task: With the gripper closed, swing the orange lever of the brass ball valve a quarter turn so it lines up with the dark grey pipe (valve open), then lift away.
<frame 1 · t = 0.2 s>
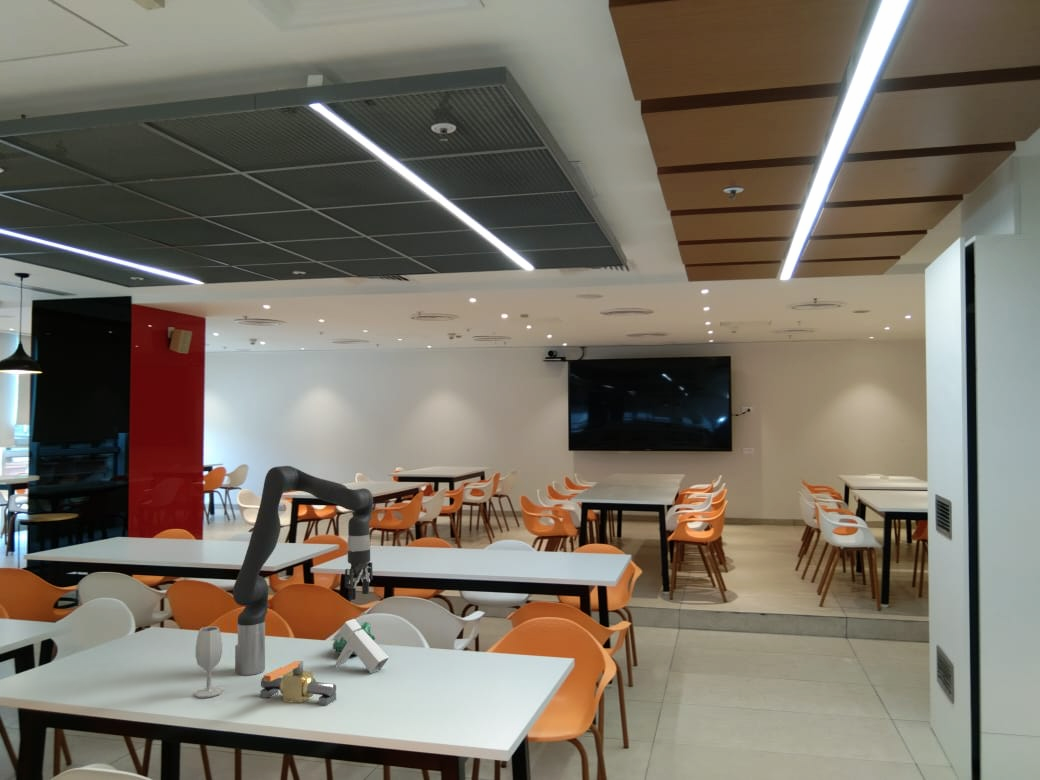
hand: (359, 596, 253), 29 cm above the table, tool pointing down, fingers open, 8 cm apart
valve: (298, 698, 238), on the table
lever: (284, 673, 233), point 10 cm above the table, hinge at 0.0°
mineral: (355, 653, 287), on the table
wineglass: (208, 694, 244), on the table
faucet: (360, 669, 267), on the table
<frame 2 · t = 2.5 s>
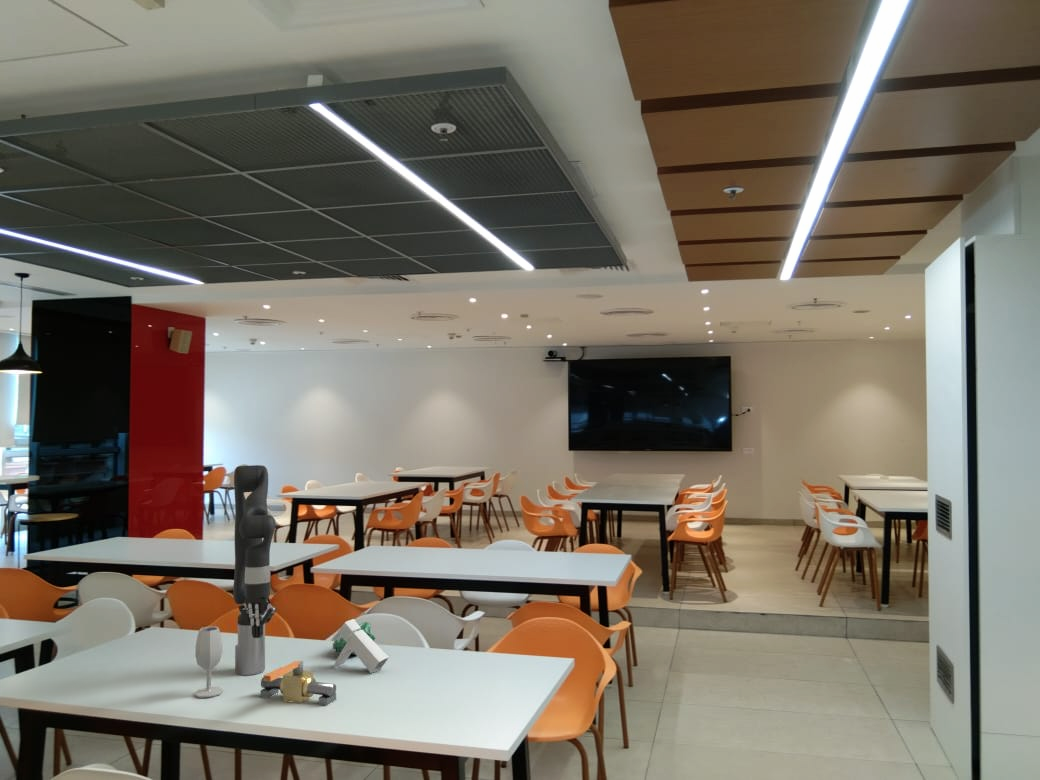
hand: (257, 637, 230), 22 cm above the table, tool pointing down, fingers closed
nothing on the table moved.
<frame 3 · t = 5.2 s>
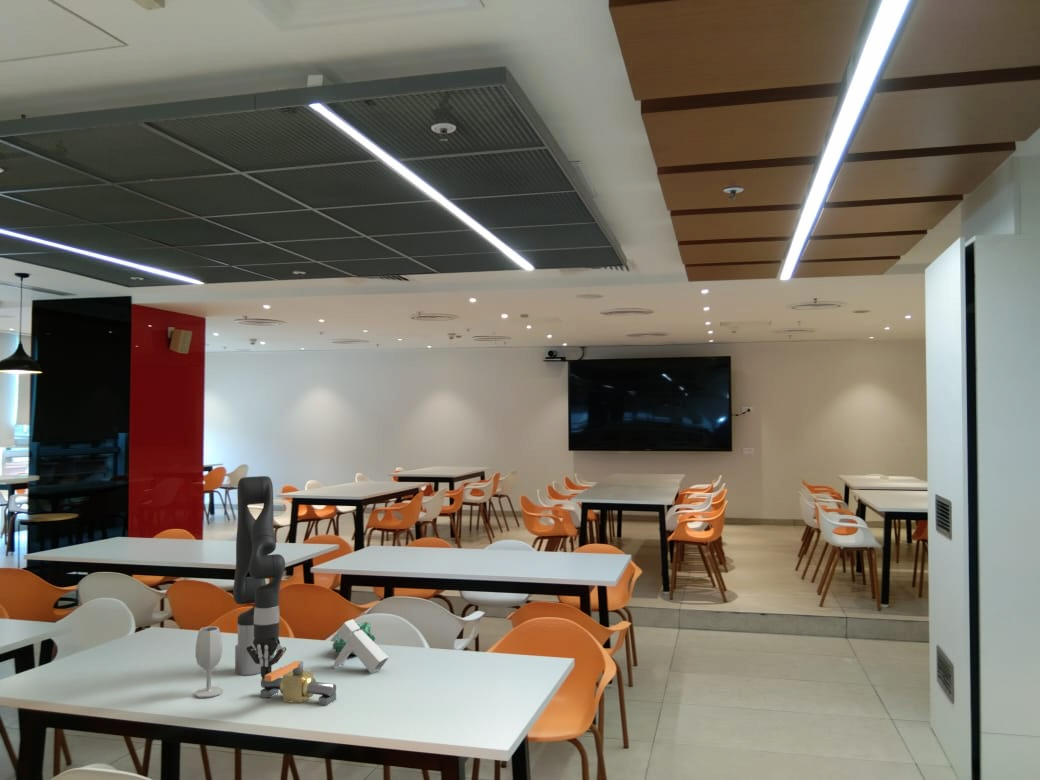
hand: (266, 678, 229), 10 cm above the table, tool pointing down, fingers closed
lever: (285, 673, 233), point 10 cm above the table, hinge at 0.9°, touching gripper
everything else where it was.
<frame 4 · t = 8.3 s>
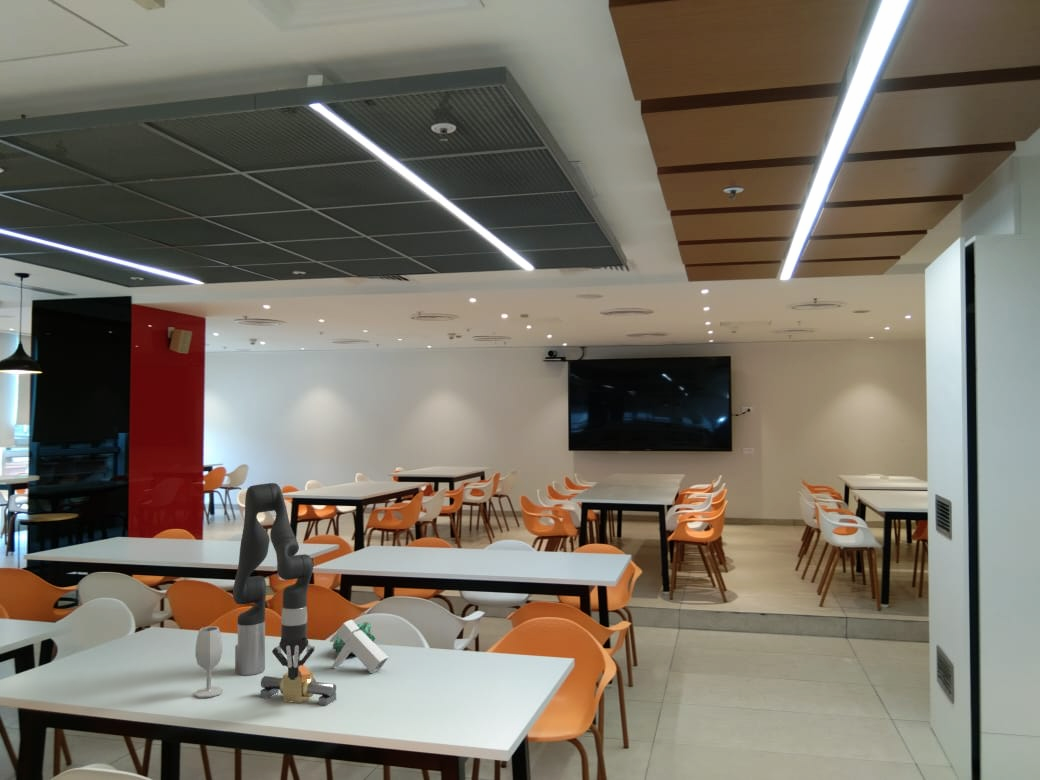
hand: (293, 679, 227), 10 cm above the table, tool pointing down, fingers closed
lever: (301, 672, 233), point 10 cm above the table, hinge at 45.3°, touching gripper
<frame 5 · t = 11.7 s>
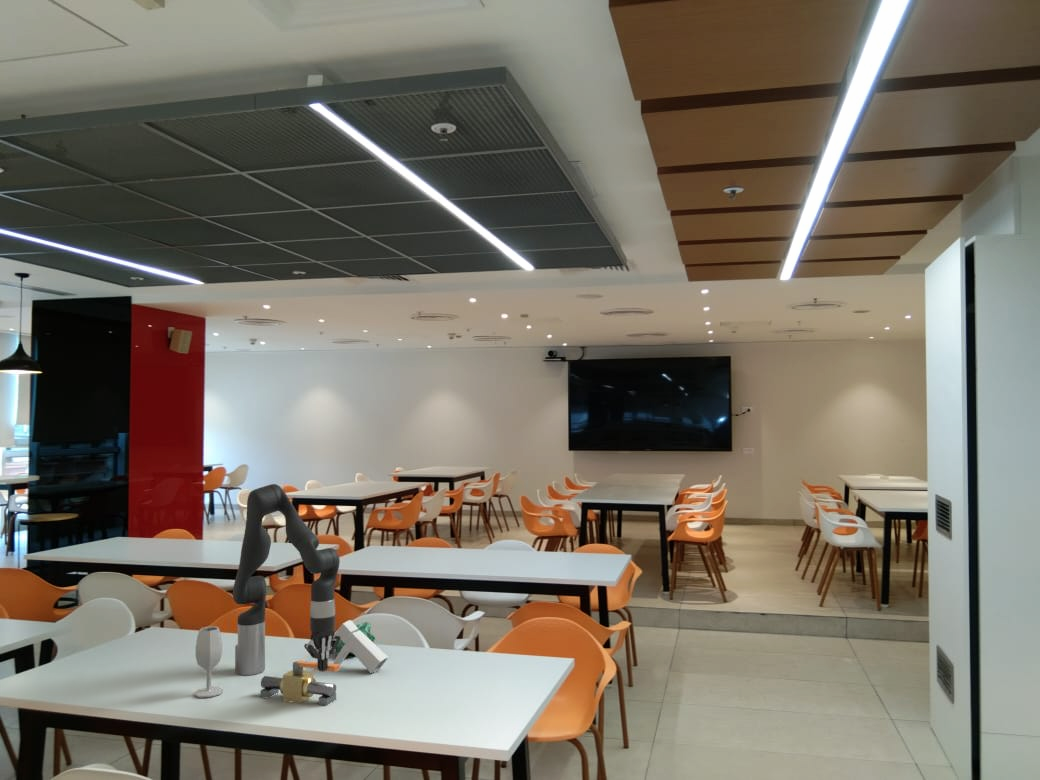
hand: (322, 670, 232), 11 cm above the table, tool pointing down, fingers closed
lever: (315, 668, 236), point 10 cm above the table, hinge at 87.9°
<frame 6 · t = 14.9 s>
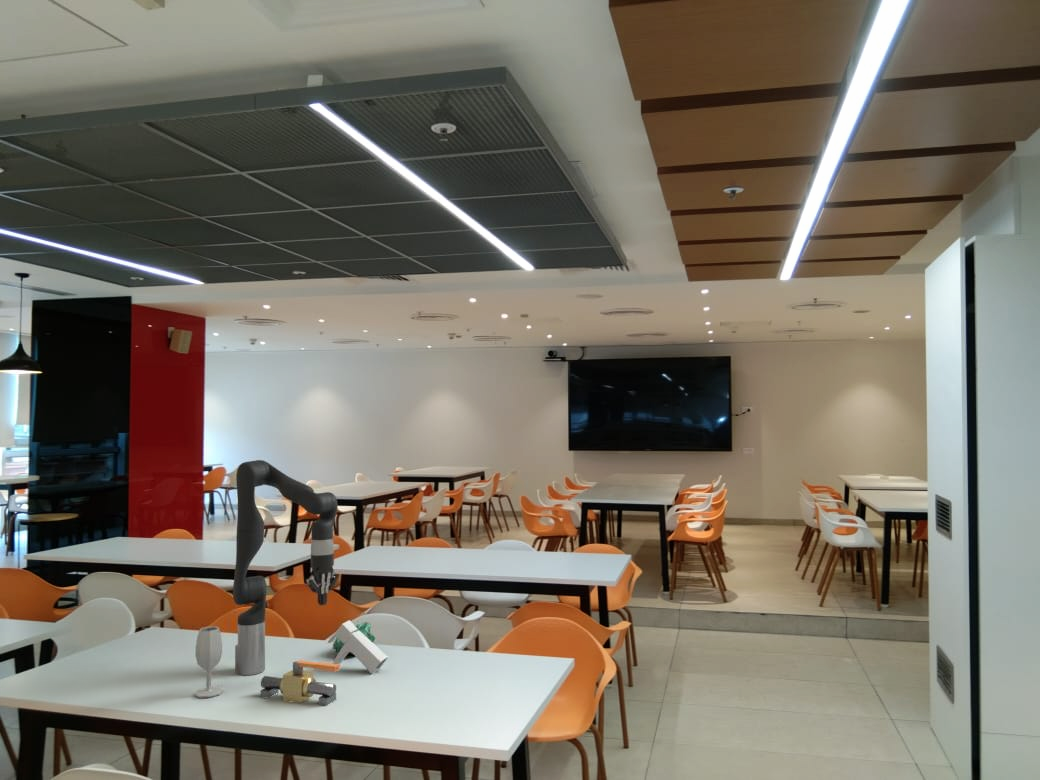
hand: (322, 604, 251), 27 cm above the table, tool pointing down, fingers closed
at the end: lever at +88° (first picture: +0°); lever touching nothing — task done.
